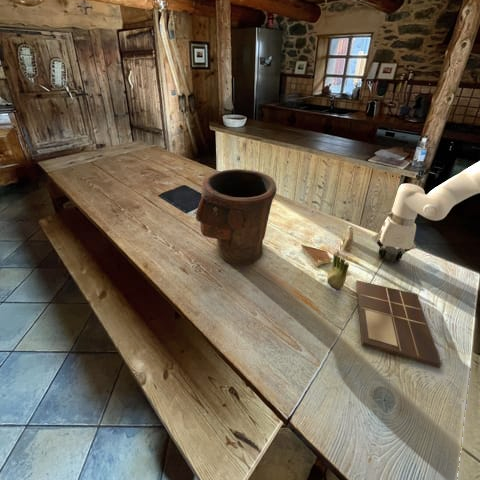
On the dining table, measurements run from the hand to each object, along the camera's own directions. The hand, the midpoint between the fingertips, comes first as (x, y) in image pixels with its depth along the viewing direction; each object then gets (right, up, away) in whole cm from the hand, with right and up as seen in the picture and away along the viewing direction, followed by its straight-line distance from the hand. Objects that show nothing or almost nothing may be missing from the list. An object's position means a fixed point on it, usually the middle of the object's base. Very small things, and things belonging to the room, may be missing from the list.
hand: (388, 257), depth 101 cm
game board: (-12, -11, -23) cm, 28 cm away
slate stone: (0, 0, 0) cm, 0 cm away
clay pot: (-59, +1, +2) cm, 59 cm away
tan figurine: (-15, +3, +6) cm, 16 cm away
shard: (-28, 0, 0) cm, 28 cm away
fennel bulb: (-25, -6, -12) cm, 28 cm away
